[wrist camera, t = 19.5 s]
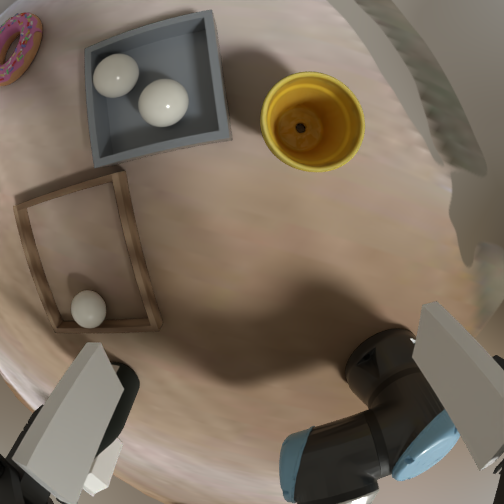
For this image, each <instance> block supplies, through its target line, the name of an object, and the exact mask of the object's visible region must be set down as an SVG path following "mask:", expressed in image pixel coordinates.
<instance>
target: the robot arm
mask: <svg viewBox="0 0 504 504" xmlns="http://www.w3.org/2000/svg"><path fill="white" fill-rule="evenodd" d="M345 375H346V379H347V382H348V385H349V387H350V389H351V390H352V391H353V392H354V393H355V394H356V395H357V396H358V397H359V398H360V399H361V400H362V401H363V402H364V403H365V404H366V405H367V406H368V408H369V410H366V411H363V412H360V413H358V414H355V415H352V416H349V417H346V418H343V419H340V420H337V421H334V422H331V423H327V424H324V425H320V426H317V427H315V426H312V427H310V428H309V429H306V430H303V431H300V432H297V433H293V434H291V435H289V436H288V437H287V438H286V439H285V440H284V442H283V444H282V448H281V452H280V460H279V475H280V485H281V489H282V490H283V496H284V498H285V500H286V501H287V502H291V503H296V502H297V504H371V503H372V501H373V499H374V498H375V496H376V494H377V493H378V491H379V487H378V483H377V480H378V479H380V478H382V477H385V476H388V475H391V474H392V477H393V478H395V479H396V480H397V481H404V480H406V479H411V478H413V477H415V476H417V475H419V474H421V473H423V472H424V471H426V470H428V469H429V468H431V467H432V466H433V465H435V464H436V463H437V462H438V461H440V460H441V459H442V458H443V457H444V456H445V455H446V454H447V453H448V452H449V451H450V450H451V449H452V448H453V446H454V445H455V444H456V442H457V440H458V439H459V436H460V435H461V437H462V439H463V441H464V443H465V444H466V446H467V448H468V450H469V452H470V453H471V455H472V457H473V459H474V461H475V463H476V465H477V467H478V469H479V471H481V470H483V469H484V468H486V467H487V466H489V465H490V464H492V463H494V462H495V461H496V460H497V459H498V458H499V457H500V456H501V455H502V453H503V452H504V359H502V358H501V357H499V356H497V355H495V356H494V357H491V356H490V355H489V353H488V352H487V351H486V350H485V349H484V348H483V347H482V346H481V345H480V344H479V343H478V342H477V341H476V340H475V338H474V337H473V336H472V335H471V334H470V333H469V332H468V331H467V330H466V329H465V328H464V327H463V326H462V325H461V324H460V323H459V322H458V321H457V320H456V319H455V318H454V317H453V316H452V315H451V314H450V313H449V312H448V311H447V310H446V309H445V308H444V307H443V306H441V305H440V304H439V303H438V302H437V301H436V302H432V303H428V304H424V305H422V310H421V316H420V322H419V327H418V332H417V337H415V335H414V334H413V333H411V332H410V331H408V330H404V329H390V330H386V331H383V332H380V333H378V334H376V335H374V336H372V337H371V338H369V339H367V340H366V341H365V342H363V343H362V344H361V345H360V346H359V347H358V348H357V349H356V350H355V351H354V353H353V354H352V355H351V357H350V359H349V361H348V363H347V366H346V370H345ZM123 391H124V388H123V386H122V384H121V383H120V381H119V379H118V377H117V375H116V373H115V371H114V369H113V367H112V365H111V363H110V361H109V359H108V357H107V355H106V353H105V350H104V348H103V346H102V344H101V342H87V343H86V345H85V346H84V347H83V349H82V350H81V351H80V353H79V354H78V356H77V357H76V358H75V360H74V361H73V363H72V364H71V365H70V367H69V368H68V370H67V371H66V373H65V374H64V375H63V377H62V378H61V380H60V381H59V383H58V384H57V386H56V387H55V389H54V390H53V392H52V393H51V395H50V396H49V398H48V399H47V401H46V402H45V404H44V405H41V406H40V407H39V408H38V409H37V410H36V411H35V412H34V413H33V414H32V416H31V417H30V419H29V421H28V424H26V426H25V427H24V431H22V432H21V433H20V435H19V437H18V438H17V440H16V442H15V444H14V445H13V447H12V449H11V451H10V452H9V454H8V456H7V457H6V458H4V457H3V456H2V455H1V454H0V504H54V503H53V501H52V499H51V498H49V496H50V494H52V495H54V496H55V497H56V498H58V499H59V500H60V501H63V502H65V503H67V504H77V502H78V499H79V497H80V494H81V491H82V489H83V486H84V483H85V481H86V478H87V475H88V473H89V470H90V468H91V465H92V463H93V460H94V458H95V455H96V453H97V450H98V448H99V445H100V443H101V441H102V438H103V436H104V433H105V431H106V429H107V426H108V424H109V422H110V420H111V417H112V415H113V413H114V410H115V408H116V406H117V404H118V401H119V399H120V397H121V395H122V393H123ZM501 467H502V470H501V471H500V472H499V474H501V475H500V480H499V484H498V488H497V491H496V495H495V499H494V502H493V504H504V459H503V460H502V462H500V464H499V465H498V466H497V467H496V468H495V470H494V472H493V473H494V474H495V473H497V471H498V470H499V469H500V468H501Z"/></svg>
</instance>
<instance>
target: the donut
mask: <svg viewBox="0 0 504 504" xmlns="http://www.w3.org/2000/svg"><path fill="white" fill-rule="evenodd" d="M19 35H20V40H19V43H18V45H17V47H16V48H15V51H14V53H13V54H12V56H11V57H10V58H9V60H8V61H7V62H6V63H5V64H4V62H5V56H6V53H7V51H8V49H9V47H10V45H11V44H12V42H13V41H14V40H15V39H16V38H17V37H18V36H19ZM41 38H42V23H41V21H40V19H39V18H38V17H37V16H36V15H34V14H31V13H21V14H16V15H15V16H14V17H11V18H9V19H8V20H7V21H6V22H5V23H4V24H3V25H2V26H1V27H0V86H6V85H9V84H11V83H13V82H15V81H16V80H17V79H18V78H19V77H20V76H21V75H22V74H23V73H24V72H25V71H26V70H27V68H28V67H29V66H30V64H31V62H32V61H33V59H34V57H35V55H36V53H37V51H38V49H39V46H40V43H41Z"/></svg>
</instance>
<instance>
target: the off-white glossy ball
mask: <svg viewBox="0 0 504 504" xmlns="http://www.w3.org/2000/svg"><path fill="white" fill-rule="evenodd" d="M188 105H189V97H188V94H187V91H186V89H185V88H184V87H183V86H182V85H181V84H180V83H179V82H177V81H175V80H172V79H159V80H156V81H153V82H152V83H150V84H149V85H147V86H146V87H145V88H144V90H143V91H142V93H141V95H140V97H139V101H138V109H139V113H140V115H141V117H142V118H143V119H144V120H145V121H146V122H147V123H148V124H150V125H152V126H156V127H167V126H171V125H173V124H175V123H177V122H178V121H179V120H180V119H181V118H182V117H183V116H184V115H185V113H186V111H187V109H188Z"/></svg>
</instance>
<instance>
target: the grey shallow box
mask: <svg viewBox="0 0 504 504" xmlns="http://www.w3.org/2000/svg"><path fill="white" fill-rule="evenodd" d="M113 54H126V55H128V56H130V57H132V58H133V59H134V60H135V61H136V63H137V65H138V67H139V77H138V81H137V83H136V85H135V86H134V88H133V89H132V90H131V91H130V92H128V93H127V94H125V95H123V96H121V97H117V98H108V97H105V96H102V95H101V94H99V93H98V92H97V90H96V89H95V87H94V84H93V74H94V71H95V69H96V67H97V65H98V64H99V63H100V62H101V61H102V60H103V59H104V58H106V57H108V56H110V55H113ZM159 79H172V80H175V81H177V82H179V83H180V84H181V85H182V86H183V87H184V88H185V89H186V91H187V94H188V97H189V105H188V109H187V111H186V113H185V115H184V116H183V117H182V118H181V119H180V120H179V121H178V122H177V123H175V124H173V125H171V126H167V127H156V126H152V125H150V124H148V123H147V122H146V121H145V120H144V119H143V118H142V117H141V115H140V113H139V109H138V101H139V97H140V95H141V93H142V91H143V90H144V88H145V87H146V86H147V85H149V84H150V83H152V82H153V81H156V80H159ZM85 87H86V103H87V114H88V125H89V133H90V141H91V149H92V156H93V162H94V168H100V167H106V166H113V165H116V164H120V163H124V162H127V161H131V160H135V159H139V158H143V157H147V156H152V155H156V154H160V153H165V152H170V151H174V150H179V149H184V148H189V147H194V146H200V145H205V144H211V143H217V142H223V141H230V140H233V139H232V132H231V125H230V118H229V111H228V104H227V97H226V90H225V83H224V76H223V69H222V62H221V55H220V48H219V40H218V33H217V26H216V22H215V19H214V15H213V12H212V10H206V11H201V12H196V13H191V14H187V15H182V16H178V17H174V18H170V19H166V20H163V21H159V22H155V23H152V24H149V25H145V26H142V27H139V28H136V29H133V30H130V31H127V32H125V33H122V34H119V35H116V36H114V37H111V38H109V39H106V40H104V41H101V42H99V43H97V44H94V45H92V46H90V47H87V48H85Z"/></svg>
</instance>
